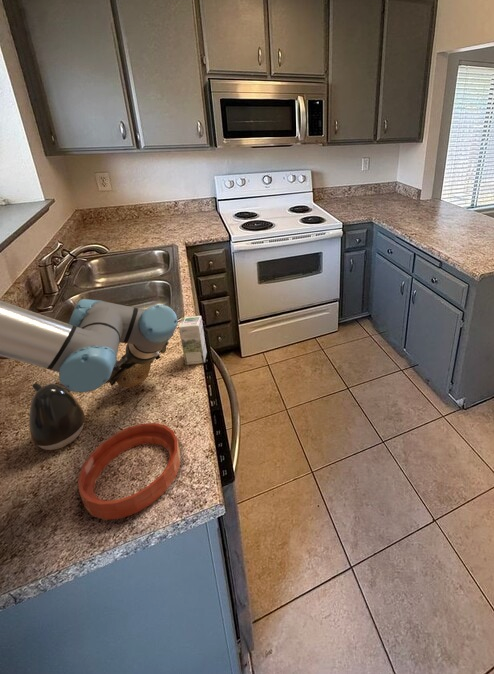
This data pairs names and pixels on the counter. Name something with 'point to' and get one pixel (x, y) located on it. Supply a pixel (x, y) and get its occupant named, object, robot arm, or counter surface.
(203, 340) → the syrup box
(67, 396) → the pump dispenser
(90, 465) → the orange rubber ring
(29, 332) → the robot arm
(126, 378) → the natural sponge
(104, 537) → the counter surface
